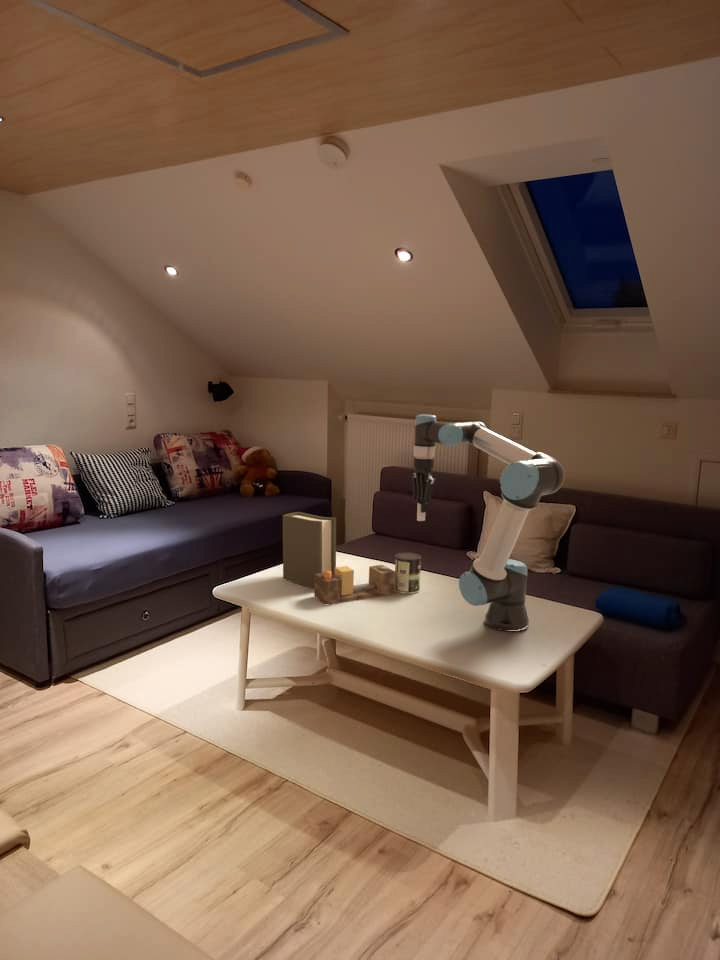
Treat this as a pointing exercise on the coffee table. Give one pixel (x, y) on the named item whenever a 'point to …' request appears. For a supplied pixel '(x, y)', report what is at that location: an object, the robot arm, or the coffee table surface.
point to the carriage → (345, 579)
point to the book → (308, 547)
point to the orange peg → (327, 574)
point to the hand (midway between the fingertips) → (421, 520)
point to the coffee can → (407, 573)
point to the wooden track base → (331, 592)
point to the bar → (364, 587)
